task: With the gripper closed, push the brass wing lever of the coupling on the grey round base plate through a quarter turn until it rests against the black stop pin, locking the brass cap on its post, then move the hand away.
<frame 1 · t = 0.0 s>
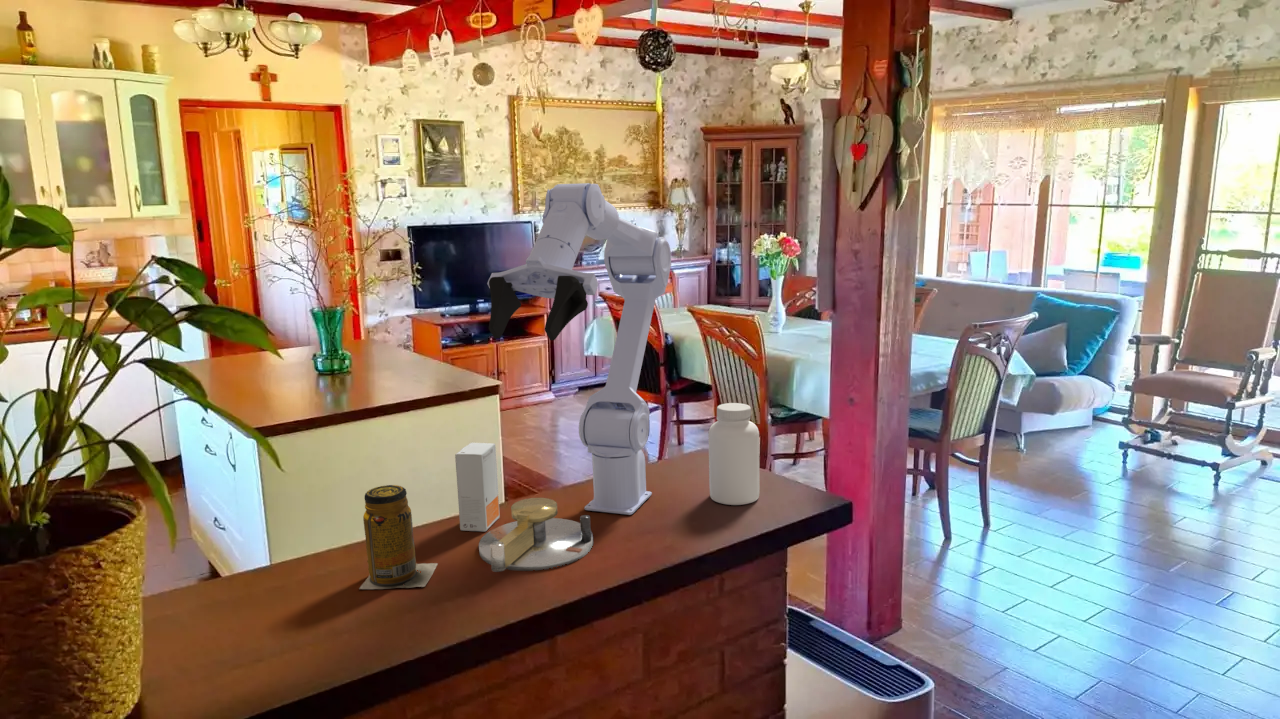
hand: (521, 334, 106), 32 cm above the worktop, tool tilted 50°, fingers open, 7 cm apart
condiment: (399, 578, 115), on the worktop
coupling: (521, 532, 119), point 4 cm above the worktop, hinge at 0.0°
skincare box: (481, 525, 132), on the worktop
pill bottle: (734, 498, 139), on the worktop
grey round base plate: (536, 546, 123), on the worktop
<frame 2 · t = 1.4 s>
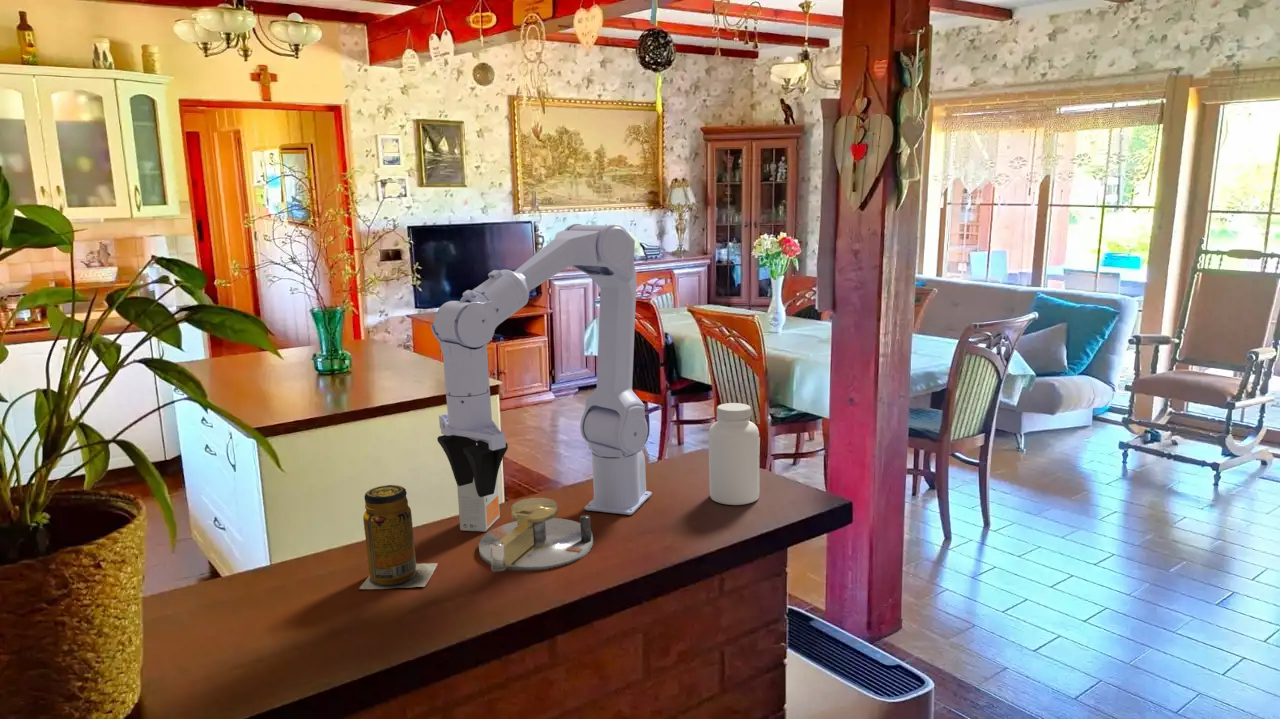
hand: (475, 489, 118), 10 cm above the worktop, tool pointing down, fingers open, 5 cm apart
nothing on the worktop moved.
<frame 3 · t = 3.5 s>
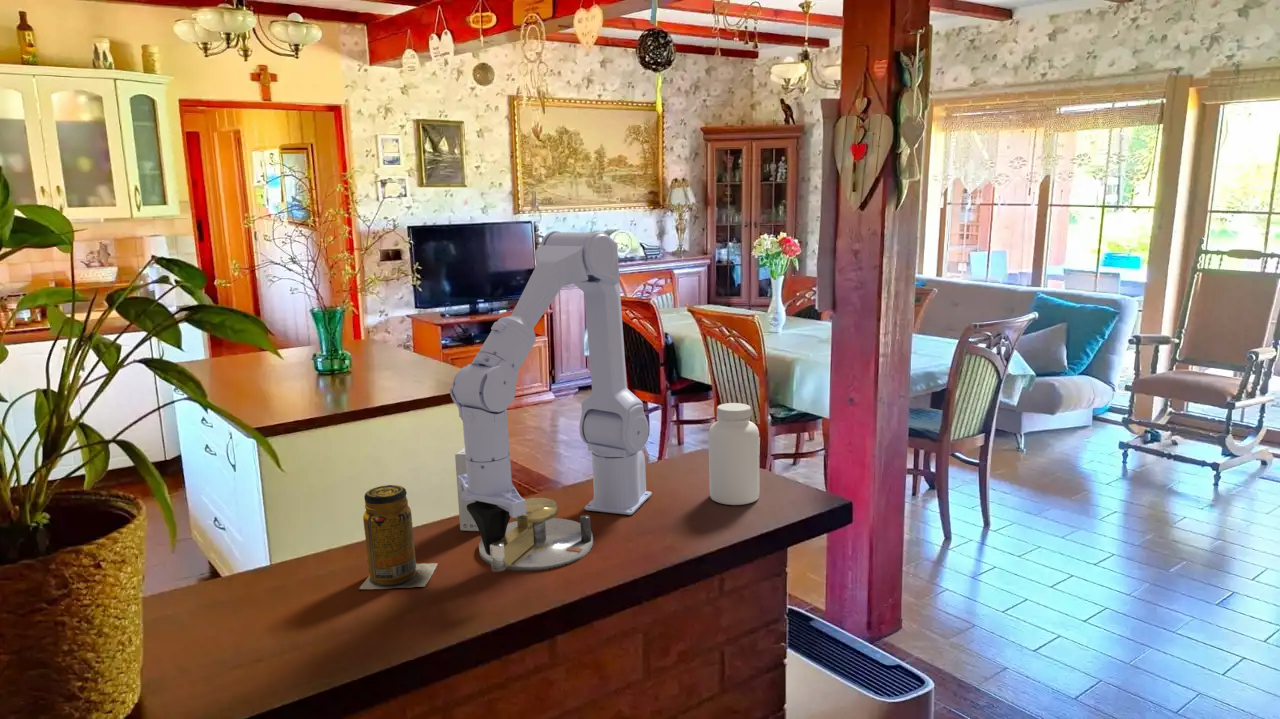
hand: (494, 552, 117), 2 cm above the worktop, tool pointing down, fingers closed
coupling: (521, 532, 119), point 4 cm above the worktop, hinge at 0.1°, touching gripper
everything else where it was.
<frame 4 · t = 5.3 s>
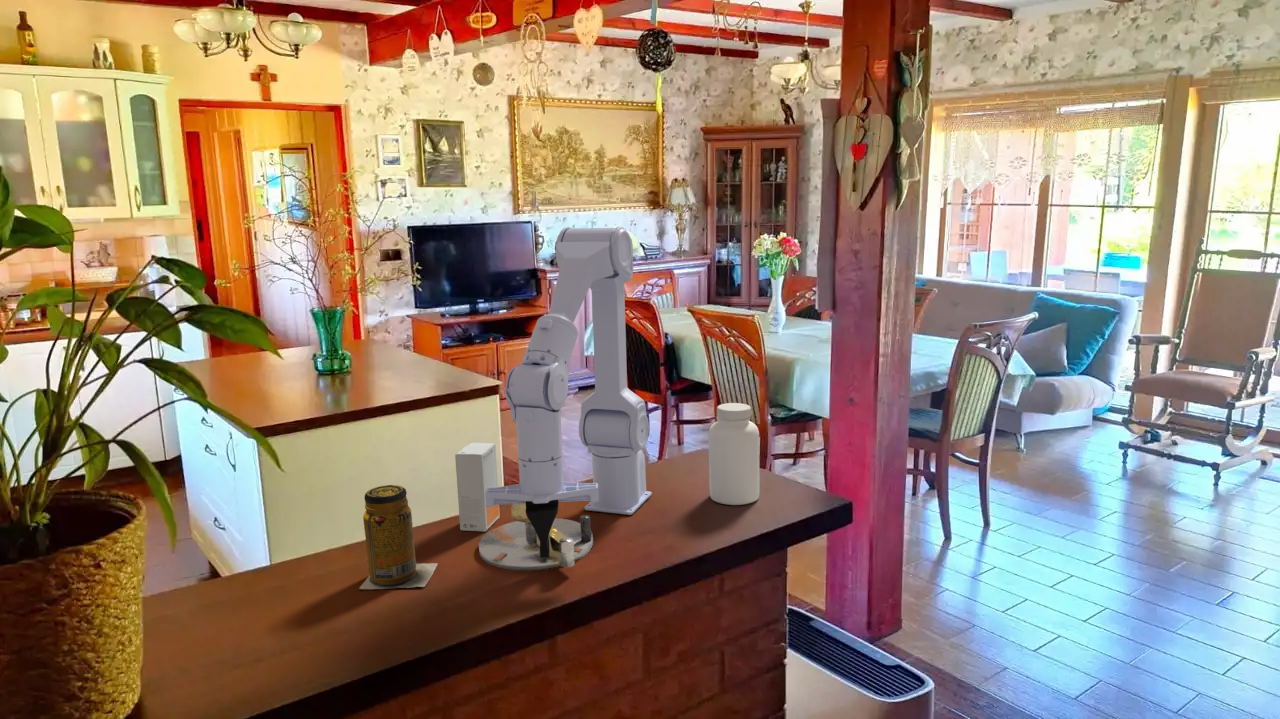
hand: (545, 554, 115), 2 cm above the worktop, tool pointing down, fingers closed, pressing on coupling
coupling: (546, 531, 119), point 4 cm above the worktop, hinge at 50.0°, touching gripper
everything else where it was.
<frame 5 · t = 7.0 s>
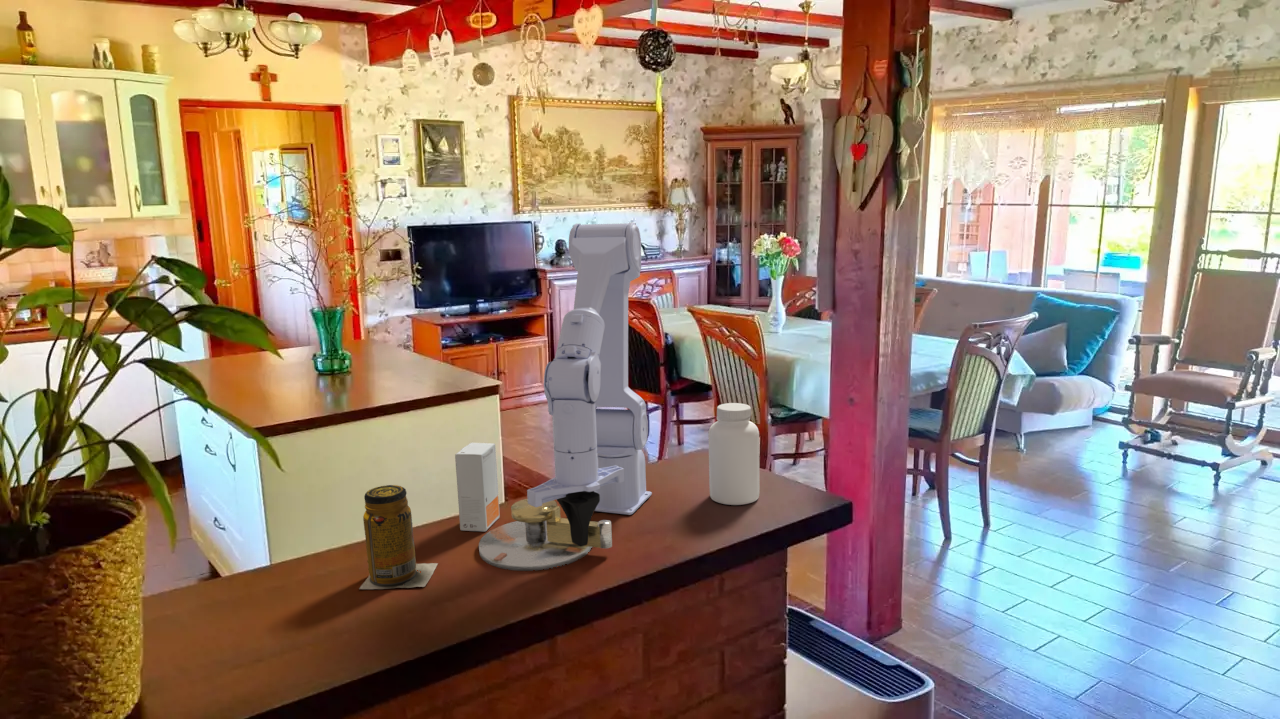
hand: (580, 543, 118), 2 cm above the worktop, tool pointing down, fingers closed, pressing on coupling
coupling: (561, 524, 121), point 4 cm above the worktop, hinge at 90.3°, touching gripper
everything else where it was.
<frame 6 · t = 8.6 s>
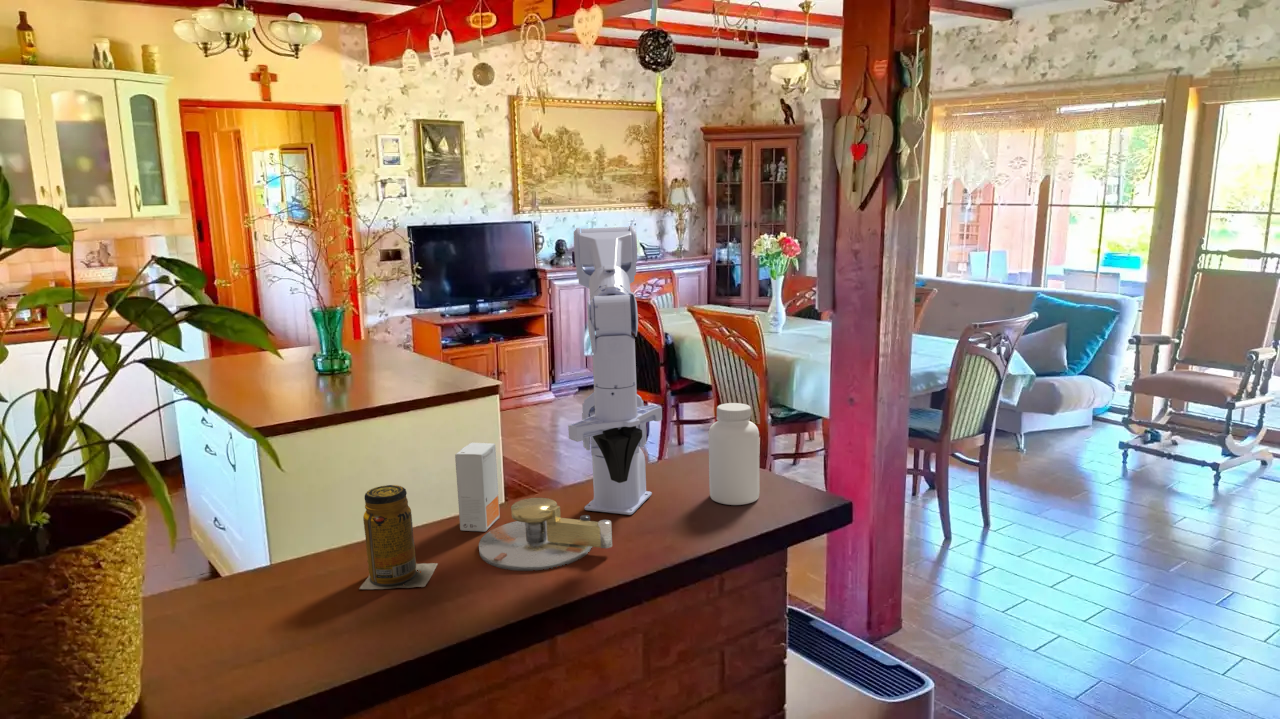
hand: (619, 480, 120), 10 cm above the worktop, tool pointing down, fingers closed
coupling: (562, 524, 121), point 4 cm above the worktop, hinge at 90.6°
everything else where it was.
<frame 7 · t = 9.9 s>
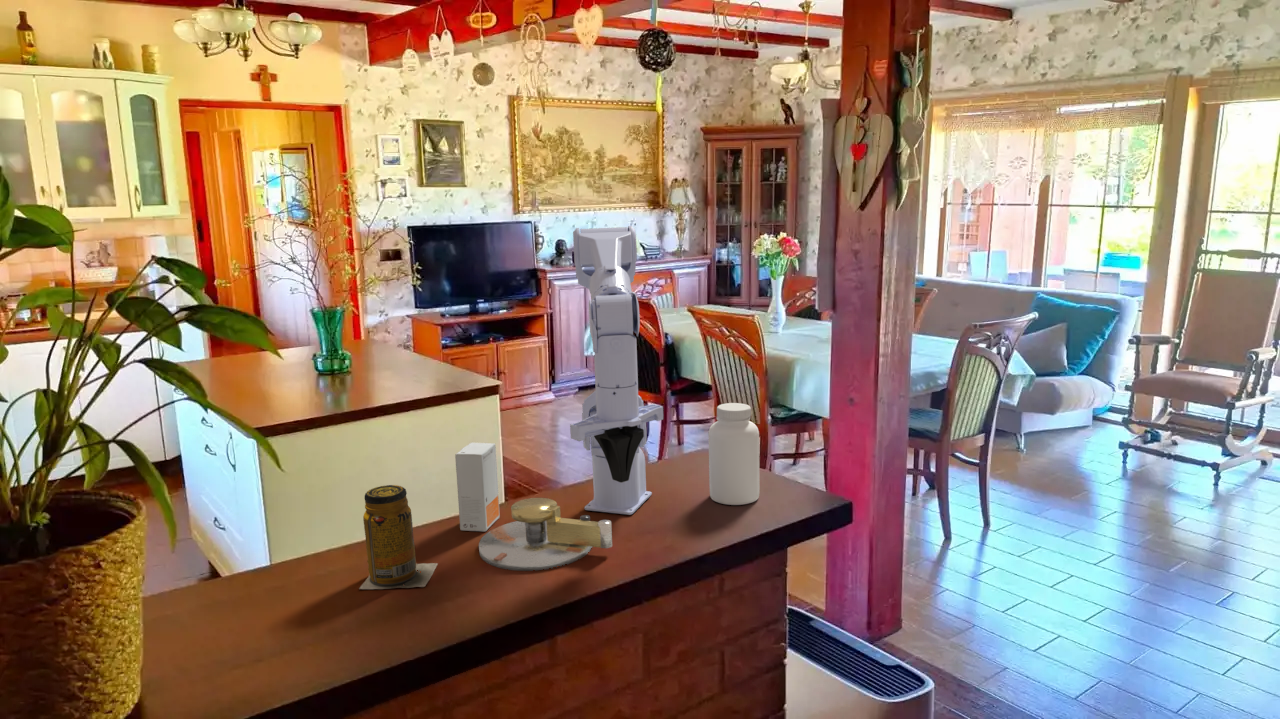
hand: (620, 479, 120), 10 cm above the worktop, tool pointing down, fingers closed
nothing on the worktop moved.
at the end: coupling at +91° (first picture: +0°) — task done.
